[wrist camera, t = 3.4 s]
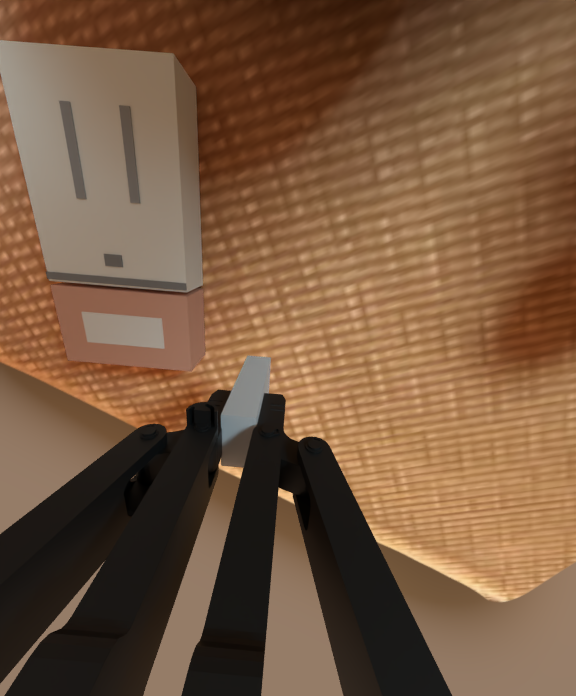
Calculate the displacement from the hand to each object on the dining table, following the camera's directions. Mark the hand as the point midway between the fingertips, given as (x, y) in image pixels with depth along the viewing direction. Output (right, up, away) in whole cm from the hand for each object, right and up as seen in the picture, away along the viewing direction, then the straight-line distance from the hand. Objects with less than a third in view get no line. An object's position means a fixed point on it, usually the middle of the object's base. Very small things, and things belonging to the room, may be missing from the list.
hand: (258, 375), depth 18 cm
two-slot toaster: (-10, +14, +3) cm, 17 cm away
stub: (-10, +4, +6) cm, 13 cm away
